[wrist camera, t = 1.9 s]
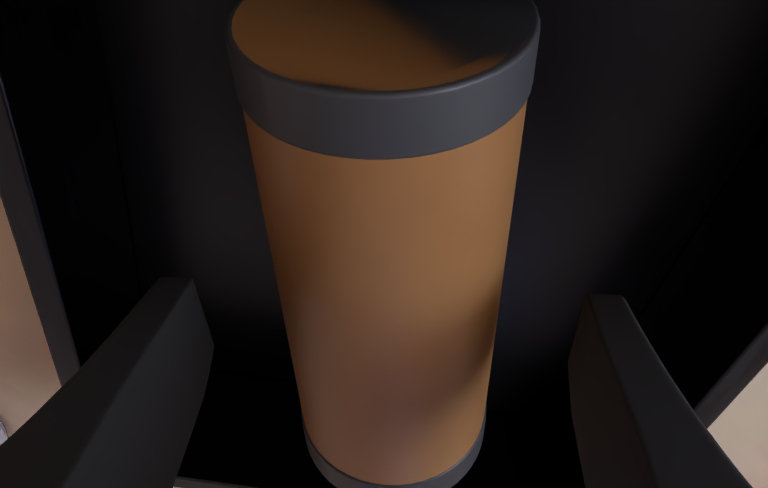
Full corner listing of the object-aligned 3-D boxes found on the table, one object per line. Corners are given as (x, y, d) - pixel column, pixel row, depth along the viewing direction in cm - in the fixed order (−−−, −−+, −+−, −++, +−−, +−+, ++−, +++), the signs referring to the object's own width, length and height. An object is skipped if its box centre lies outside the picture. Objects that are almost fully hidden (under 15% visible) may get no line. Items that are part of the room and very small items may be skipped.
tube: (482, 354, 19) (484, 515, 16) (320, 344, 19) (288, 499, 16) (531, -46, 11) (554, 101, 8) (262, -48, 12) (181, 90, 9)
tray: (580, 422, 22) (599, 548, 19) (138, 355, 21) (88, 475, 18) (936, -117, 11) (1112, -11, 8) (27, -294, 10) (-145, -248, 7)
